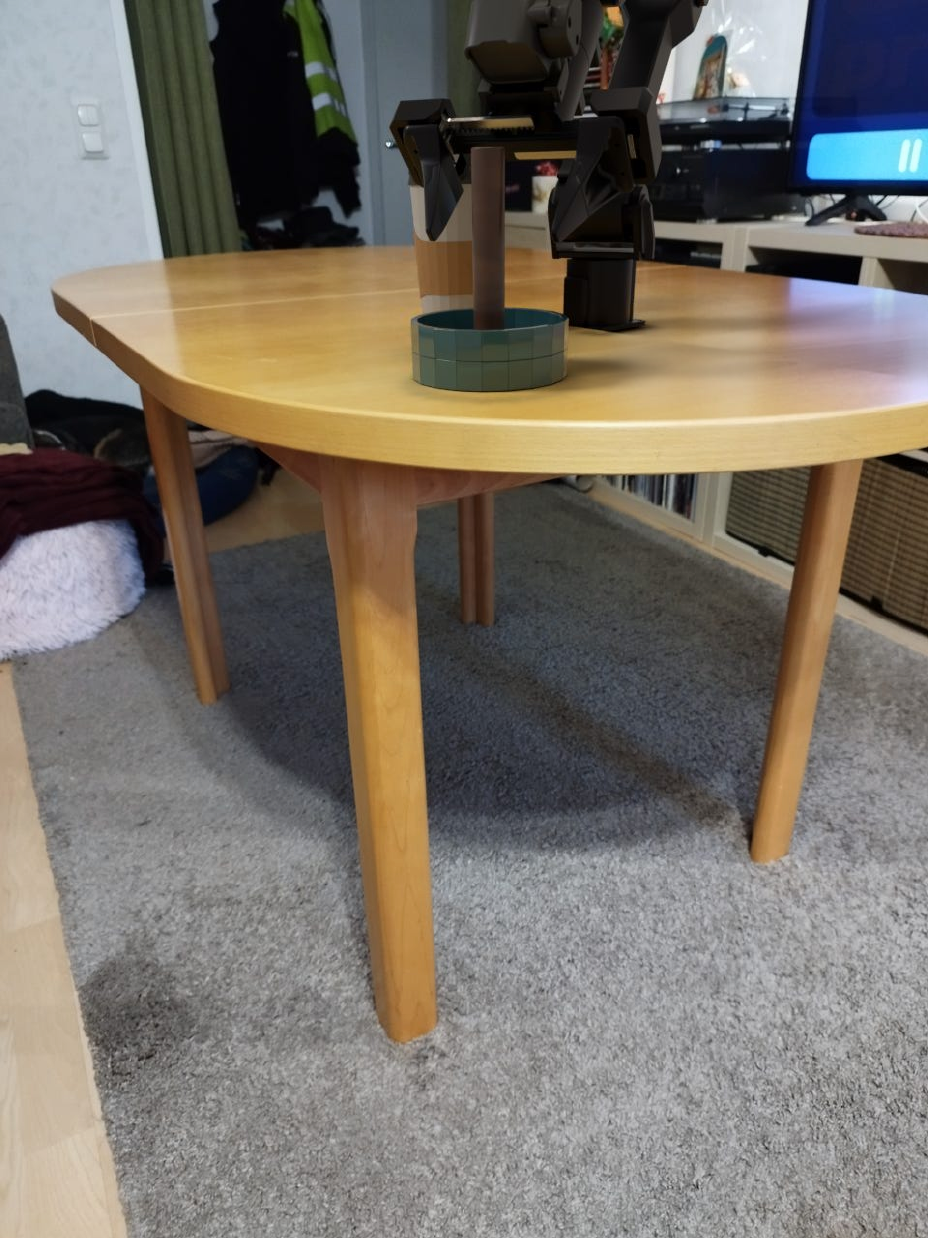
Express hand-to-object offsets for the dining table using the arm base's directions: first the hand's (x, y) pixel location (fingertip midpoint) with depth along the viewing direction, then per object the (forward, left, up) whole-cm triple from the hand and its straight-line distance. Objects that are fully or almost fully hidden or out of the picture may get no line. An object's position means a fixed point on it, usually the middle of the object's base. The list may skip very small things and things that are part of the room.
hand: (490, 237), depth 60 cm
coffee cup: (-12, -19, -10) cm, 25 cm away
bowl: (0, 0, -10) cm, 10 cm away
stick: (0, 0, -9) cm, 9 cm away
